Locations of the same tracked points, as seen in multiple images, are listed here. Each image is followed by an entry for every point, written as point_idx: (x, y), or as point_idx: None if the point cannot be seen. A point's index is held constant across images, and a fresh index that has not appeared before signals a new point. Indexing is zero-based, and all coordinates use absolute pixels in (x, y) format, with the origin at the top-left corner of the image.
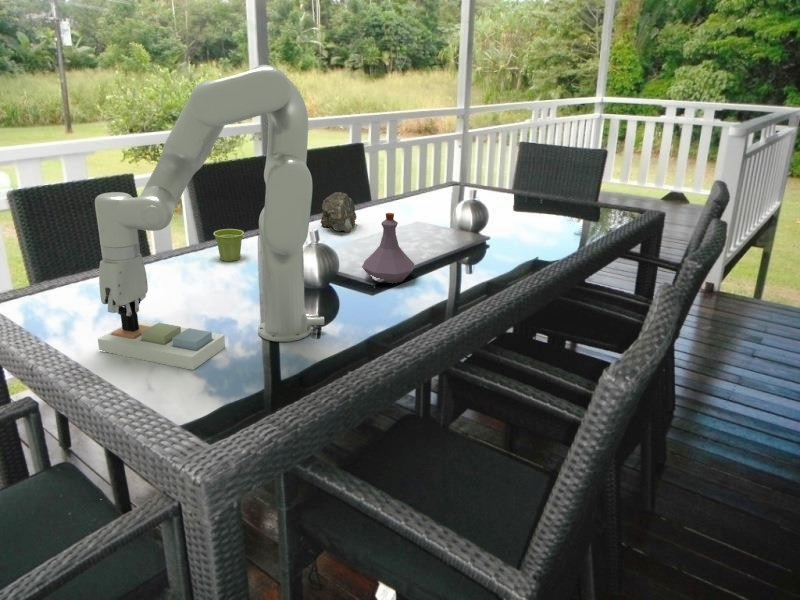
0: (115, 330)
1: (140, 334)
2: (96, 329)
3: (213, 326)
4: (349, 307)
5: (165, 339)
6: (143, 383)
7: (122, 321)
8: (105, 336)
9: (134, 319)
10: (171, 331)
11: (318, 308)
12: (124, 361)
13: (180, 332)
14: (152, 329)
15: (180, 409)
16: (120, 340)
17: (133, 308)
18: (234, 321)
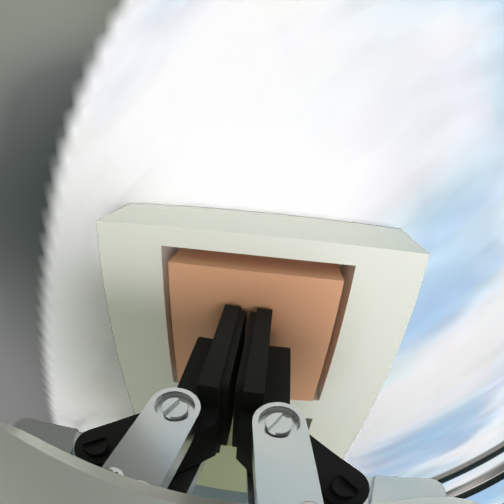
0: (201, 265)
1: None
2: (354, 15)
3: (436, 430)
4: (475, 497)
5: None
6: (79, 412)
7: (188, 365)
8: (131, 243)
9: (231, 422)
10: (234, 489)
11: (484, 482)
12: None
13: None
14: (221, 456)
15: None
16: (134, 339)
17: (246, 476)
18: (460, 442)
